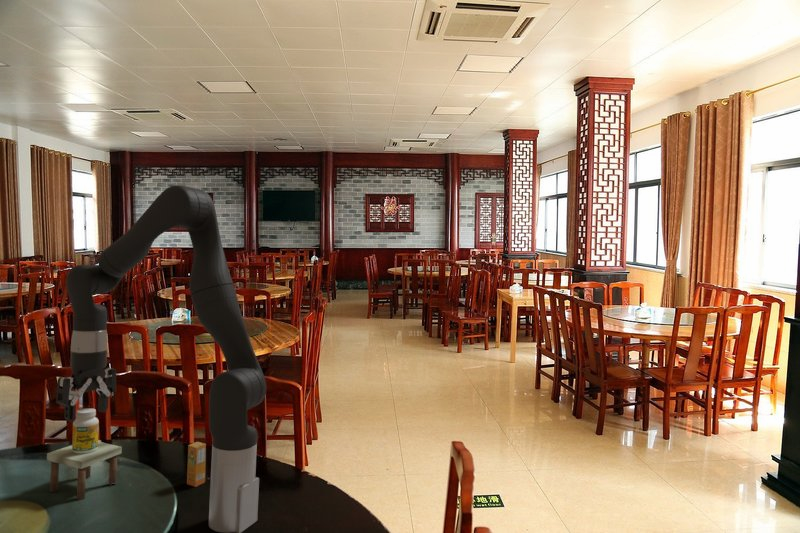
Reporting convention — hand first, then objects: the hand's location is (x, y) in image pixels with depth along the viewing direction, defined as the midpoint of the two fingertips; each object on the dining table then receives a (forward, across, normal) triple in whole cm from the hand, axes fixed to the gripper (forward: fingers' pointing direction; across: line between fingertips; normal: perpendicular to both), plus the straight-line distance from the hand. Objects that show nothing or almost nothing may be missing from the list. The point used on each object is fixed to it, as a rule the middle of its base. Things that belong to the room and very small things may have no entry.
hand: (86, 416), depth 129 cm
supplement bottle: (+8, 0, 0) cm, 8 cm away
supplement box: (+18, +14, -21) cm, 31 cm away
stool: (+17, 0, 0) cm, 17 cm away
